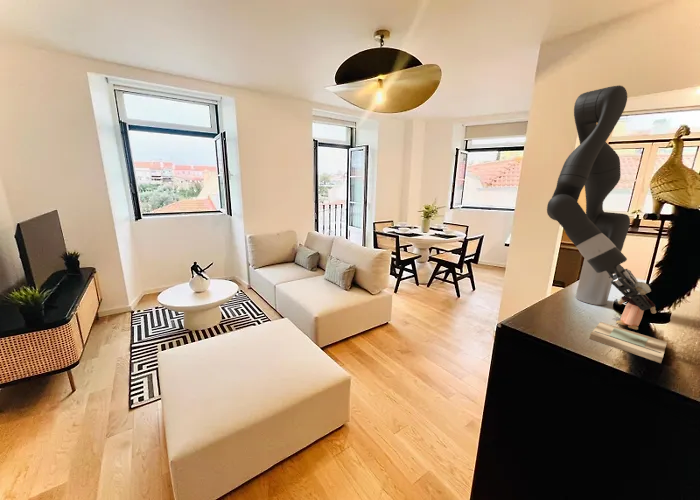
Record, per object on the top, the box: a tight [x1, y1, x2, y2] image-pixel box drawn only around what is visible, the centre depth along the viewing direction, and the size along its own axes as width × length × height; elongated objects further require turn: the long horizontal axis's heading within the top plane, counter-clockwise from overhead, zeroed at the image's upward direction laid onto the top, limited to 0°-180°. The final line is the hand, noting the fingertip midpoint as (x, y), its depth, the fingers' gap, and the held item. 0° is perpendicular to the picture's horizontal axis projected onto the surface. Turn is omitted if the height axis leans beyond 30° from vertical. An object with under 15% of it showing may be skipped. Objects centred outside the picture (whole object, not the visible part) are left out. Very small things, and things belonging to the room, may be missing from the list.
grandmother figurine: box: [615, 281, 657, 331], centre depth 77 cm, size 8×4×13 cm, turn 38°
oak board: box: [589, 321, 668, 364], centre depth 79 cm, size 12×14×2 cm
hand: (647, 307), depth 75 cm, fingers closed on grandmother figurine, 2 cm apart
